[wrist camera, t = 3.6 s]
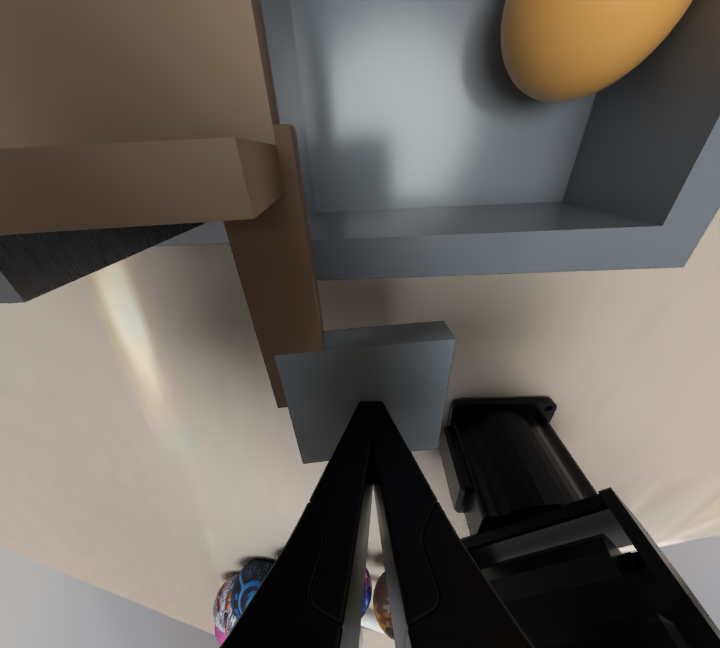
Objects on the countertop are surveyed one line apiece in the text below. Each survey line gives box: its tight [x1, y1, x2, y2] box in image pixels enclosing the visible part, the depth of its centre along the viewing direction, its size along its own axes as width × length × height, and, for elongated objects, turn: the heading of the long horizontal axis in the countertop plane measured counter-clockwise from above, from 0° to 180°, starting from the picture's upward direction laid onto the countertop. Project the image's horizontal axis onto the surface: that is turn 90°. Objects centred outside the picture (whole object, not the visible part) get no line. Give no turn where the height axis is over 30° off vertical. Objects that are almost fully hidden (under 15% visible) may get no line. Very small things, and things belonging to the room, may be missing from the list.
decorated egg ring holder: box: [213, 559, 395, 648], centre depth 37 cm, size 35×35×9 cm
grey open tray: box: [260, 0, 720, 280], centre depth 7 cm, size 12×12×5 cm
